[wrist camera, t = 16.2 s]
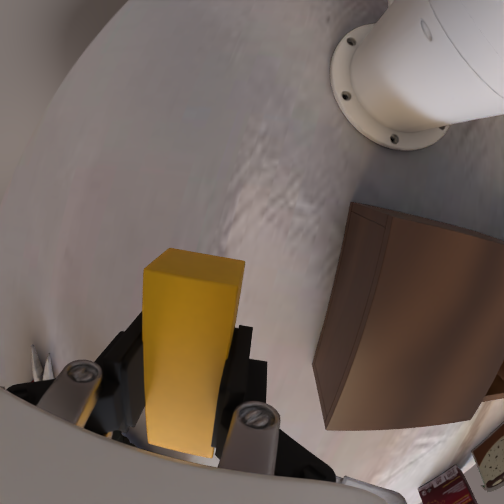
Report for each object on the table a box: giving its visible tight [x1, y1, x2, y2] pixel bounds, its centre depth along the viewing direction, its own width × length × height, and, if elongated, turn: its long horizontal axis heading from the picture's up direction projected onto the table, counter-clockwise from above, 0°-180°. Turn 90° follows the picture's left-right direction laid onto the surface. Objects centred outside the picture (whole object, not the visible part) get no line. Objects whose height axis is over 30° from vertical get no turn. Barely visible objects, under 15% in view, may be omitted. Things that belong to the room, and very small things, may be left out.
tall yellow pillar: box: [142, 248, 245, 458], centre depth 11 cm, size 9×3×2 cm, turn 171°
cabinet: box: [312, 202, 504, 431], centre depth 23 cm, size 16×17×10 cm
